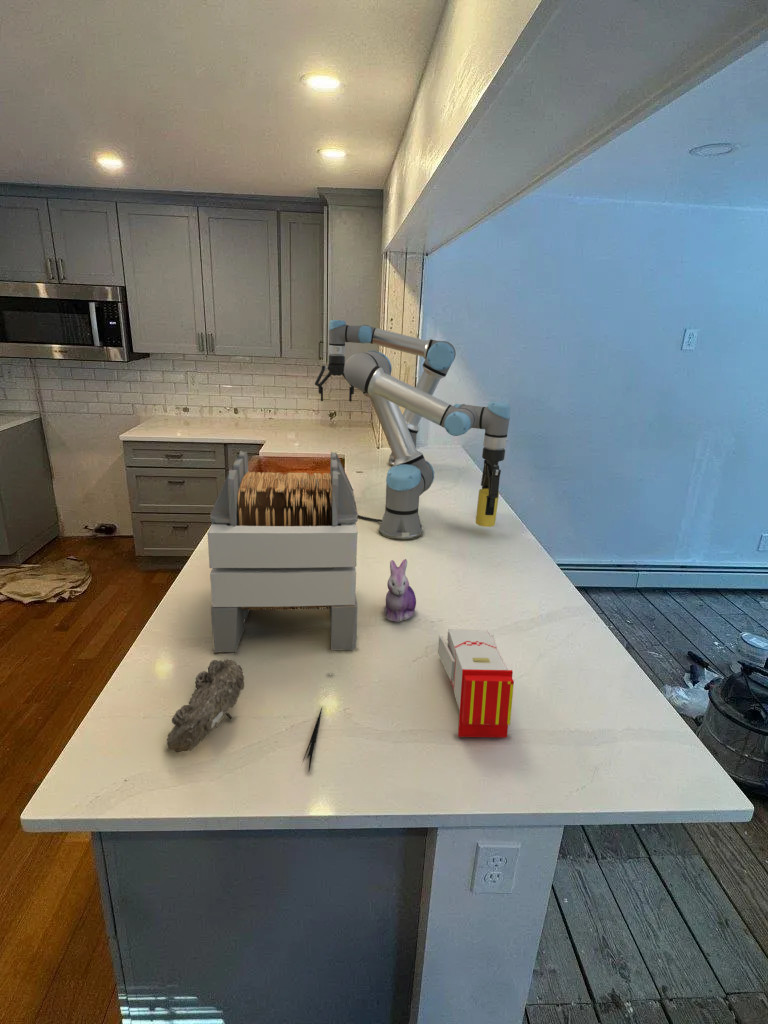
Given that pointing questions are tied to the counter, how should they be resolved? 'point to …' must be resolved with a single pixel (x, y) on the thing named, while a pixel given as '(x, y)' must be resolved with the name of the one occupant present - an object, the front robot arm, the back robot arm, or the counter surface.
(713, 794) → the counter surface
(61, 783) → the counter surface
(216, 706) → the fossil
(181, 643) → the counter surface
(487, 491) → the tin
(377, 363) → the front robot arm
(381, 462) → the counter surface
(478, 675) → the toy
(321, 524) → the grey record crate
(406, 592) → the figurine
